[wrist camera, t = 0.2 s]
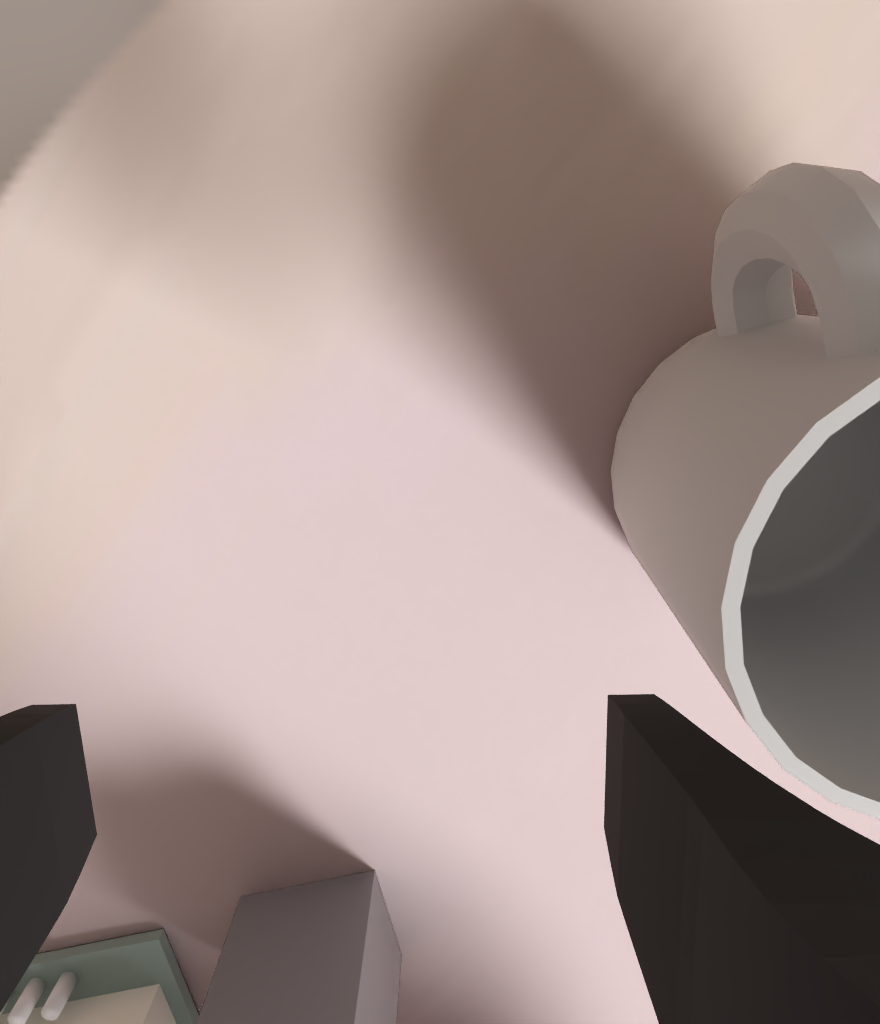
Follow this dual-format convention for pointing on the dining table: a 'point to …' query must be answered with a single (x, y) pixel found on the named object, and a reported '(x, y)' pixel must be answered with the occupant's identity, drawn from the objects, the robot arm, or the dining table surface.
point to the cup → (776, 477)
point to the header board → (104, 985)
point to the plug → (308, 957)
